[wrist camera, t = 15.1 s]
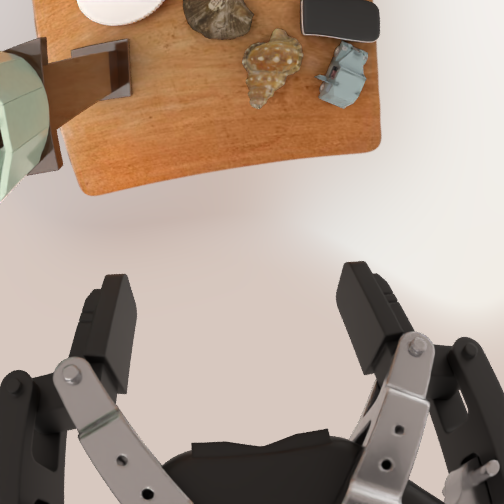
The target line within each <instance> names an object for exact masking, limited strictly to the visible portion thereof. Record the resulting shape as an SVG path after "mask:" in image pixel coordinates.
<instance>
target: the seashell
mask: <svg viewBox="0 0 504 504" xmlns="http://www.w3.org/2000/svg"><path fill="white" fill-rule="evenodd" d="M302 57H303V53H302V46H301V45H300V44H299V42H298V40H297V39H295V38H292V37H290V36H288V35H287V33H286V31H285V30H282V29H275V30H274V31H273V32H272V36H271V38H270V41H269V42H268V43H263V42H262V43H256V44H253V45H251V46H250V47H249V48H248V49H246V51H245V53H244V57H243V60H242V64H243V66H244V68H245V69H246V70H247V72H248V78H247V79H246V84H247V86H248V88H249V92H248V96H249V98H250V104H251V106H252V107H254V108H256V109H260V108H262V106H263V105H264V104H266V102H267V100H268V99H269V98H271V97H272V96H273V95H274V91H276V90H277V89H279V88H280V87H282V86H283V85H284V84H285V80H286V77H287V75H291V74H293V73H295V72H297V71H298V70H299V69H300V65H301V62H302Z"/></svg>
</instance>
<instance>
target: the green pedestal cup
mask: <svg viewBox="0 0 504 504" xmlns="http://www.w3.org/2000/svg"><path fill="white" fill-rule="evenodd" d="M131 95H132V87H131V71H130V51H129V39H123V40H117V41H111V42H106V43H101V44H96V45H91V46H87V47H82V48H78V49H74V50H71V58H70V59H65V60H61V61H56V62H52V63H48V56H47V38H46V37H41V38H37V39H34V40H31V41H28V42H26V43H23V44H20V45H17V46H15V47H12V48H10V49H7V50H5V51H0V130H1V135H2V140H3V144H4V146H3V147H2V148H1V149H0V203H1V202H2V201H3V200H4V199H5V198H6V197H7V196H8V195H9V194H10V193H11V192H12V191H13V189H14V188H15V187H16V186H17V185H18V184H19V183H20V182H21V181H22V180H23V179H24V178H25V176H28V175H33V174H39V173H45V172H50V171H56V170H59V169H60V168H61V167H62V166H63V161H62V157H61V151H60V146H59V141H58V135H57V129H58V128H60V127H61V126H62V125H64V124H65V123H67V122H68V121H69V120H71V119H72V118H74V117H75V116H77V115H78V114H80V113H81V112H83V111H84V110H86V109H87V108H89V107H90V106H92V105H93V104H95V103H96V102H98V101H102V100H108V99H114V98H121V97H128V96H131Z"/></svg>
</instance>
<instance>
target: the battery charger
mask: <svg viewBox="0 0 504 504" xmlns="http://www.w3.org/2000/svg"><path fill="white" fill-rule="evenodd" d="M300 28H301V33H302V34H303V35H315V36H325V37H331V38H338V39H341V40H346V41H353V42H363V43H367V42H374V41H376V40H377V39H378V37H379V34H380V17H379V9H378V7H377V6H376V5H375V4H374V3H372V2H369V1H366V0H301V1H300Z"/></svg>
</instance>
